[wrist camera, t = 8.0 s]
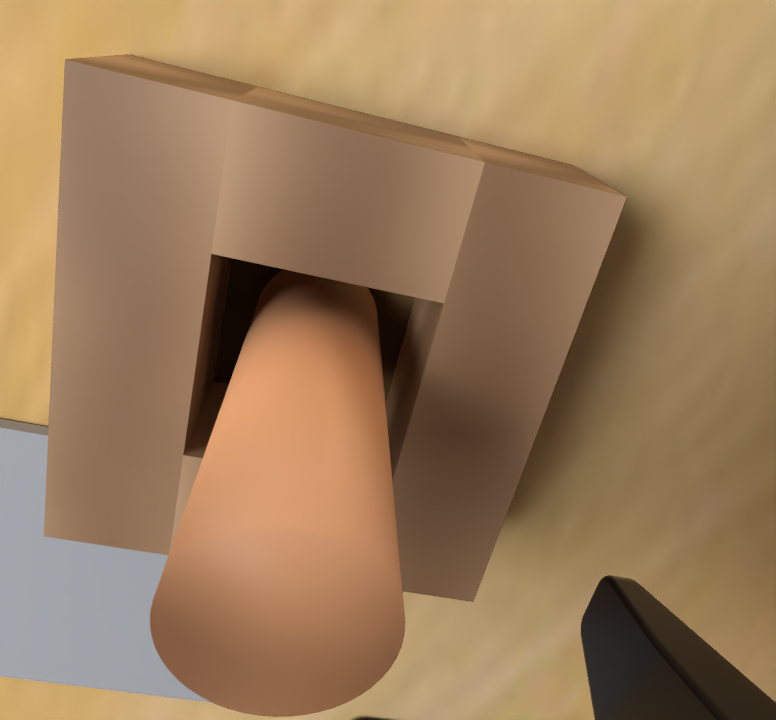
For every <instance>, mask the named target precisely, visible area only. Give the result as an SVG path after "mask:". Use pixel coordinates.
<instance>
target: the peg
mask: <svg viewBox="0 0 776 720" xmlns="http://www.w3.org/2000/svg"><path fill="white" fill-rule="evenodd" d="M150 629H151V636H152V639H153V643H154V646H155V649H156V651H157V653H158V654H159V656H160V658H161V660H162V662H163V663H164V664H165V666H166V667H167V669H168V670H169V671H170V672H171V673H172V674H173V675H174V676H175V677H176V679H177V680H178V681H180V682H181V683H182V684H183V685H185V686H186V687H187V688H188V689H190V690H191V691H193V692H194V693H196V694H197V695H199V696H201V697H202V698H204V699H206V700H208V701H210V702H212V703H214V704H217V705H220V706H222V707H225V708H228V709H231V710H235V711H239V712H242V713H248V714H254V715H261V716H273V717H278V716H298V715H306V714H311V713H316V712H321V711H324V710H328V709H331V708H334V707H337V706H339V705H342V704H344V703H346V702H349V701H350V700H352V699H354V698H356V697H358V696H360V695H361V694H363V693H364V692H365V691H367V690H368V689H370V688H371V687H372V686H373V685H375V684H376V683H377V682H378V681H379V680H380V679H381V678H382V677H383V676H384V675H385V674H386V672H387V671H388V670H389V669H390V667H391V666H392V664H393V663H394V661H395V659H396V658H397V656H398V653H399V651H400V649H401V646H402V642H403V638H404V632H405V616H404V605H403V594H402V583H401V571H400V560H399V549H398V538H397V527H396V516H395V505H394V494H393V483H392V472H391V461H390V450H389V439H388V428H387V417H386V405H385V394H384V383H383V372H382V361H381V350H380V339H379V328H378V317H377V308H376V304H375V301H374V298H373V296H372V294H371V292H370V290H369V289H368V287H365V286H360V285H355V284H350V283H346V282H341V281H336V280H332V279H327V278H322V277H318V276H313V275H308V274H304V273H299V272H294V271H290V270H285V269H283V270H282V271H280V272H279V273H278V274H276V275H275V276H274V277H273V278H272V279H271V280H270V281H269V282H268V284H267V285H266V286H265V288H264V290H263V291H262V293H261V296H260V298H259V301H258V304H257V307H256V309H255V312H254V315H253V318H252V321H251V324H250V326H249V329H248V332H247V335H246V338H245V341H244V343H243V346H242V349H241V352H240V355H239V357H238V360H237V363H236V366H235V369H234V372H233V374H232V377H231V380H230V383H229V386H228V389H227V391H226V394H225V397H224V400H223V403H222V406H221V408H220V411H219V414H218V417H217V420H216V422H215V425H214V428H213V431H212V434H211V437H210V439H209V442H208V445H207V448H206V451H205V454H204V456H203V459H202V462H201V465H200V468H199V471H198V473H197V476H196V479H195V482H194V485H193V487H192V490H191V493H190V496H189V499H188V502H187V504H186V507H185V510H184V513H183V516H182V519H181V521H180V524H179V527H178V530H177V533H176V536H175V538H174V541H173V544H172V547H171V550H170V553H169V555H168V558H167V561H166V564H165V567H164V569H163V572H162V575H161V578H160V581H159V584H158V586H157V589H156V592H155V595H154V598H153V602H152V606H151V610H150Z"/></svg>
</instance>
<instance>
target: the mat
mask: <svg viewBox="0 0 776 720" xmlns="http://www.w3.org/2000/svg"><path fill="white" fill-rule="evenodd" d="M48 428H49V427H46V426H40V425H34V424H29V423H23V422H17V421H11V420H6V419H0V676H2V677H10V678H18V679H26V680H34V681H42V682H50V683H58V684H66V685H74V686H83V687H91V688H99V689H107V690H115V691H123V692H131V693H139V694H147V695H155V696H163V697H171V698H179V699H187V700H195V701H203V702H210V701H208V700H206V699H204V698H202V697H201V696H199V695H197V694H196V693H194V692H193V691H191V690H190V689H188V688H187V687H186V686H185V685H183V684H182V683H181V682H180V681H178V680H177V679H176V677H175V676H174V675H173V674H172V673H171V672H170V671H169V670H168V669H167V667H166V666H165V664H164V663H163V662H162V660H161V658H160V656H159V654H158V653H157V651H156V649H155V646H154V643H153V639H152V636H151V629H150V610H151V606H152V602H153V598H154V595H155V592H156V589H157V586H158V584H159V581H160V578H161V575H162V572H163V569H164V567H165V564H166V561H167V558H168V555H162V554H156V553H149V552H143V551H136V550H130V549H123V548H116V547H110V546H103V545H97V544H90V543H84V542H77V541H70V540H64V539H57V538H51V537H44V517H45V495H46V472H47V450H48ZM211 703H212V702H211Z"/></svg>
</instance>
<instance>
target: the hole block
mask: <svg viewBox="0 0 776 720" xmlns="http://www.w3.org/2000/svg"><path fill="white" fill-rule="evenodd" d="M626 198H627V197H626V196H624V195H623V194H621V193H619V192H617V191H616V190H614V189H612V188H611V187H609V186H607V185H606V184H604V183H602V182H600V181H599V180H597V179H595V178H594V177H592V176H590V175H588V174H587V173H585V172H583V171H582V170H580V169H578V168H577V167H575V166H573V165H570V164H566V163H562V162H558V161H554V160H550V159H546V158H542V157H538V156H534V155H530V154H526V153H522V152H518V151H514V150H510V149H506V148H502V147H498V146H494V145H490V144H485V143H481V142H477V141H473V140H469V139H465V138H461V137H457V136H453V135H449V134H445V133H441V132H437V131H433V130H429V129H425V128H421V127H417V126H413V125H409V124H405V123H401V122H397V121H393V120H389V119H385V118H381V117H377V116H373V115H369V114H365V113H361V112H357V111H353V110H349V109H345V108H341V107H337V106H333V105H329V104H325V103H321V102H317V101H313V100H309V99H305V98H301V97H297V96H293V95H289V94H285V93H281V92H277V91H273V90H269V89H265V88H261V87H257V86H252V85H248V84H244V83H240V82H236V81H232V80H228V79H224V78H220V77H216V76H212V75H208V74H204V73H200V72H196V71H192V70H188V69H184V68H180V67H176V66H172V65H168V64H164V63H160V62H156V61H152V60H148V59H144V58H140V57H136V56H132V55H128V54H127V55H114V56H101V57H89V58H76V59H65V71H64V94H63V116H62V138H61V160H60V183H59V205H58V227H57V250H56V272H55V294H54V316H53V339H52V361H51V383H50V406H49V428H48V450H47V472H46V495H45V517H44V537H51V538H57V539H64V540H70V541H77V542H84V543H90V544H97V545H103V546H110V547H116V548H123V549H130V550H136V551H143V552H149V553H156V554H162V555H169V553H170V550H171V547H172V544H173V541H174V538H175V536H176V533H177V530H178V527H179V524H180V521H181V519H182V516H183V513H184V510H185V507H186V504H187V502H188V499H189V496H190V493H191V490H192V487H193V485H194V482H195V479H196V476H197V473H198V471H199V468H200V465H201V462H202V459H203V456H204V454H205V451H206V448H207V445H208V442H209V439H210V437H211V434H212V431H213V428H214V425H215V422H216V420H217V417H218V414H219V411H220V408H221V406H222V403H223V400H224V397H225V394H226V391H227V389H228V386H229V384H227V383H222V382H217V381H213V380H214V374H215V367H216V361H217V354H218V348H219V341H220V335H221V328H222V321H223V315H224V308H225V302H226V295H227V289H228V282H229V275H230V269H231V262H232V258H233V259H238V260H243V261H247V262H252V263H257V264H261V265H266V266H271V267H275V268H280V269H285V270H290V271H294V272H299V273H304V274H308V275H313V276H318V277H322V278H327V279H332V280H336V281H341V282H346V283H350V284H355V285H360V286H365V287H369V288H374V289H379V290H383V291H388V292H393V293H397V294H402V295H407V296H411V297H415V298H414V302H413V305H412V309H411V313H410V316H409V320H408V324H407V328H406V331H405V335H404V339H403V342H402V346H401V350H400V353H399V357H398V361H397V365H396V368H395V372H394V376H393V379H392V383H391V387H390V390H389V394H388V398H387V402H386V417H387V428H388V439H389V450H390V461H391V472H392V483H393V494H394V505H395V516H396V527H397V538H398V549H399V560H400V571H401V583H402V591H406V592H412V593H419V594H425V595H432V596H438V597H445V598H452V599H458V600H465V601H471V602H473V601H474V599H475V596H476V593H477V591H478V588H479V585H480V583H481V580H482V578H483V575H484V572H485V570H486V567H487V564H488V562H489V559H490V557H491V554H492V551H493V549H494V546H495V543H496V541H497V538H498V535H499V533H500V530H501V528H502V525H503V522H504V520H505V517H506V514H507V512H508V509H509V506H510V504H511V501H512V499H513V496H514V493H515V491H516V488H517V485H518V483H519V480H520V477H521V475H522V472H523V470H524V467H525V464H526V462H527V459H528V456H529V454H530V451H531V448H532V446H533V443H534V441H535V438H536V435H537V433H538V430H539V427H540V425H541V422H542V419H543V417H544V414H545V412H546V409H547V406H548V404H549V401H550V398H551V396H552V393H553V390H554V388H555V385H556V383H557V380H558V377H559V375H560V372H561V369H562V367H563V364H564V361H565V359H566V356H567V354H568V351H569V348H570V346H571V343H572V340H573V338H574V335H575V332H576V330H577V327H578V325H579V322H580V319H581V317H582V314H583V311H584V309H585V306H586V304H587V301H588V298H589V296H590V293H591V290H592V288H593V285H594V282H595V280H596V277H597V275H598V272H599V269H600V267H601V264H602V261H603V259H604V256H605V253H606V251H607V248H608V246H609V243H610V240H611V238H612V235H613V232H614V230H615V227H616V224H617V222H618V219H619V217H620V214H621V211H622V209H623V206H624V203H625V201H626Z"/></svg>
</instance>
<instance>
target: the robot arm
mask: <svg viewBox="0 0 776 720" xmlns="http://www.w3.org/2000/svg"><path fill="white" fill-rule="evenodd" d="M581 638H582V644H583V651H584V657H585V663H586V669H587V675H588V681H589V687H590V693H591V699H592V706H593V712H594V718H595V720H776V702H774V701H773V700H772V699H771V698H770V697H769V696H767V695H766V694H765V693H764V692H763V691H762V690H761V689H759V688H758V687H757V686H756V685H755V684H754V683H752V682H751V681H750V680H749V679H748V678H747V677H746V676H744V675H743V674H742V673H741V672H740V671H739V670H737V669H736V668H735V667H734V666H733V665H732V664H731V663H729V662H728V661H727V660H726V659H725V658H724V657H722V656H721V655H720V654H719V653H718V652H717V651H716V650H714V649H713V648H712V647H711V646H710V645H709V644H708V643H706V642H705V641H704V640H703V639H702V638H701V637H699V636H698V635H697V634H696V633H695V632H694V631H693V630H691V629H690V628H689V627H688V626H687V625H686V624H684V623H683V622H682V621H681V620H680V619H679V618H678V617H676V616H675V615H674V614H673V613H672V612H671V611H669V610H668V609H667V608H666V607H665V606H664V605H663V604H661V603H660V602H659V601H658V600H657V599H656V598H654V597H653V596H652V595H651V594H650V593H649V592H648V591H646V590H645V589H644V588H643V587H642V586H641V585H640V584H638V583H637V582H636V581H634V580H632V579H629V578H623V577H617V576H610V575H609V576H605V577H603V578H602V579H601V580H600V582H599V584H598V586H597V588H596V590H595V592H594V594H593V596H592V598H591V601H590V603H589V605H588V607H587V609H586V611H585V613H584V615H583V618H582V622H581Z"/></svg>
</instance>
